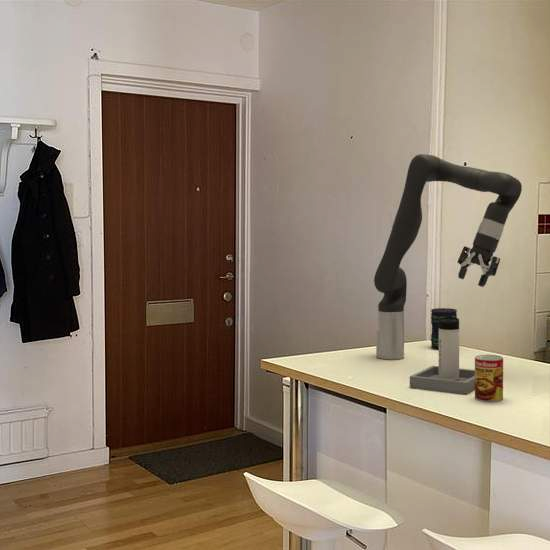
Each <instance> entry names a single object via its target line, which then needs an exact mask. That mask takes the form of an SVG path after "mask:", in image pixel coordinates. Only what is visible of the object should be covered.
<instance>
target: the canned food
mask: <svg viewBox="0 0 550 550" xmlns="http://www.w3.org/2000/svg"><path fill="white" fill-rule="evenodd" d="M474 370H475V390H474V400H477V401H481V402H489V403H491V402H500V401H502V400H503V399H504V357H503V356H501V355H498V354H478V355H477V354H476V355H475V356H474Z"/></svg>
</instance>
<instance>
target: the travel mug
mask: <svg viewBox="0 0 550 550" xmlns="http://www.w3.org/2000/svg"><path fill="white" fill-rule="evenodd" d="M438 366H439V379H446V380H454V381H459V369H460V318H458V317H457V318H455V317H453V316H447V317H444V318H440V319H439V350H438Z"/></svg>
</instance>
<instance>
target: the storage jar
mask: <svg viewBox="0 0 550 550" xmlns="http://www.w3.org/2000/svg"><path fill="white" fill-rule="evenodd" d="M430 311H431V313H430V314H431V316H430V319H431V320H430V324H431V335H430V337H431V338H430V342H431V343H430V344H431V346H430V347H431V350H435V351H439V319H440V318H444V317H447V316H453V317H455V318H458V313H457V312H458V310H457V308H456V309H455V308H450V307H448V308H447V307H446V308H445V307H443V308H442V307H441V308H440V307H438V308H431V310H430Z"/></svg>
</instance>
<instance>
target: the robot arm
mask: <svg viewBox="0 0 550 550" xmlns="http://www.w3.org/2000/svg"><path fill="white" fill-rule="evenodd" d="M427 182H428V183H431V182H447V183H450V184H451V183H452V184H456V185H458V186H460V187H462V188H465V189H469V190H473V191H477V192H482V193H487V192H488V193H492V194H496V195H498V197H497V198H496V200H495V201H493V202H489V204H488V205H487V206H486V207H487V208H486V210H485V211H484V215H483V217H482V220H481V222H480V223H479V225H478V229H477V231H476V234H475V235H474V239H473V242H472V247H468V246H465V245H464V246H463V247H462V251H461V253H460V255H459V257H458V260H457V264H459V265H460V269H459V271H458V274H457V275H458V276H457V277H458V279H461V280H464V279H465V277H466V275H467V271H468V268H469V267H471V266H473V265H474V264H475V265H478V266H480V268H481V271H482V274H481V275H480V279H479V281H478V284H477V286H479V287H482V288H484V287H485V286H486V284H487V281H488V279H489V277H492V276H493V277H495V276H496V274H497V271H498V267H499V265H500V262H501V258H500V257H498V256H494V253H495V252H496V250H497V249H498V246H499V242H500V240H501V237H502V235H503V232H504V227H505V225H506V222H507V219H508V216H509V214H510V212H511V211H512V209H513V208H514V207H515V205H516V203H517V202H518V200H519V198H520V196H521V194H522V190H523V185H522V182H521V181H520V180H519V179H518V178H516V177H515V176H512V175H510V174H508V173H506V172H501V171H500V172H499V171H489V170H486V169H482V168H478V167H477V168H476V167H470V166H464V165H458V164H455V163H452V162H449V161H447V160H444V159H442V158H440V157H438V156H436V155H432V154H423V153H422V154H421V153H420V154H416V155H415V156H413V158H412V159H411V160H410V162H409V166H408V169H407V174H406V178H405V184H404V187H403V192H402V196H401V199H400V203H399V206H398V209H397V212H396V213H395V214H396V215H395V216H394V220H393V224H392V227H391V231H390V234H389V237H388V239H387V243H386V247H385V250H384V252H383V255H382V257H381V260H380V261H379V264H378V267H377V268H376V271H375V274H374V278H373V279H374V280H373V284H374V287H375V289H376V290H377V291H378V292H379V293H381V294H383V297H382V298H381V300H380V301H379V302H378V306H377V312H378V313H377V314H378V316H377V317H378V320H377V321H378V323H377V324H378V327H377V328H378V330H376V333H375V337H376V339H375V340H376V341H375V344H376V345H375V346H376V347H375V348H376V349H375V351H376V352H375V353H376V354H375V355H376V358H378V359H383V360H401V359H404V358H405V318H404V316H405V311H404V310H405V309H404V308H405V304H406V303H407V286H408V285H407V281H408V280H407V275H406V273H405V270H404V269H402V268H401V267H400V265H401V262H402V261H403V259H404V257H405V255H406V253H407V252H408V250H410V248H411V246H412V245H413V244H414V243H415V240H416V238H417V236H418V234H419V231H420V228H421V225H422V222H423V211H422V210H423V209H422V194H423V191H424V188H425V185H426V184H427Z"/></svg>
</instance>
